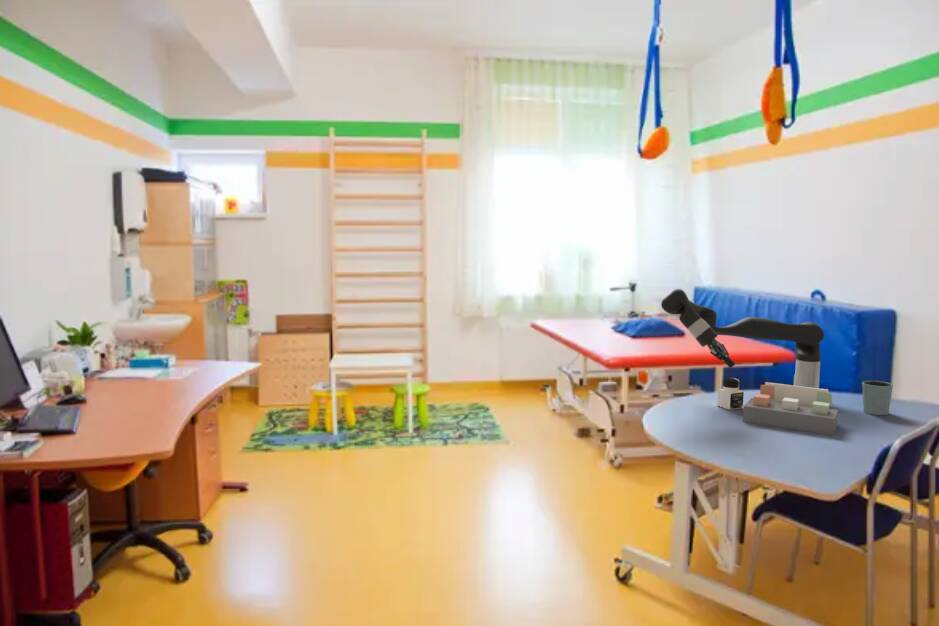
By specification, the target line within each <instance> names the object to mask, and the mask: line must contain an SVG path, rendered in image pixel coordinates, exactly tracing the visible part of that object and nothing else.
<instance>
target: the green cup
mask: <svg viewBox="0 0 939 626" xmlns="http://www.w3.org/2000/svg"><path fill="white" fill-rule="evenodd" d="M861 384H862V385H861V386H862V408H863V413H865V414H867V413H868V415H871V414H873V415H872V416H878V415H886V416H888V415H889V413H890V406H891V399H892V393H893V392H892V391H893V383H891V382H889V381H888V382H887V381H882V380H863V381H862V383H861Z"/></svg>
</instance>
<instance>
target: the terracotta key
mask: <svg viewBox="0 0 939 626" xmlns="http://www.w3.org/2000/svg"><path fill="white" fill-rule="evenodd" d="M753 398H754V400H753V405H760V406H767V407H768V406H769V405H770V395H762V394H760V393H755V395H754V396H753Z"/></svg>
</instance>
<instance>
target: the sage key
mask: <svg viewBox="0 0 939 626" xmlns="http://www.w3.org/2000/svg"><path fill="white" fill-rule="evenodd" d="M829 405H830V403H824V402H816V401H814V402H813V404H812V413H818V414H825V415H829V409H830V406H829Z"/></svg>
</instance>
